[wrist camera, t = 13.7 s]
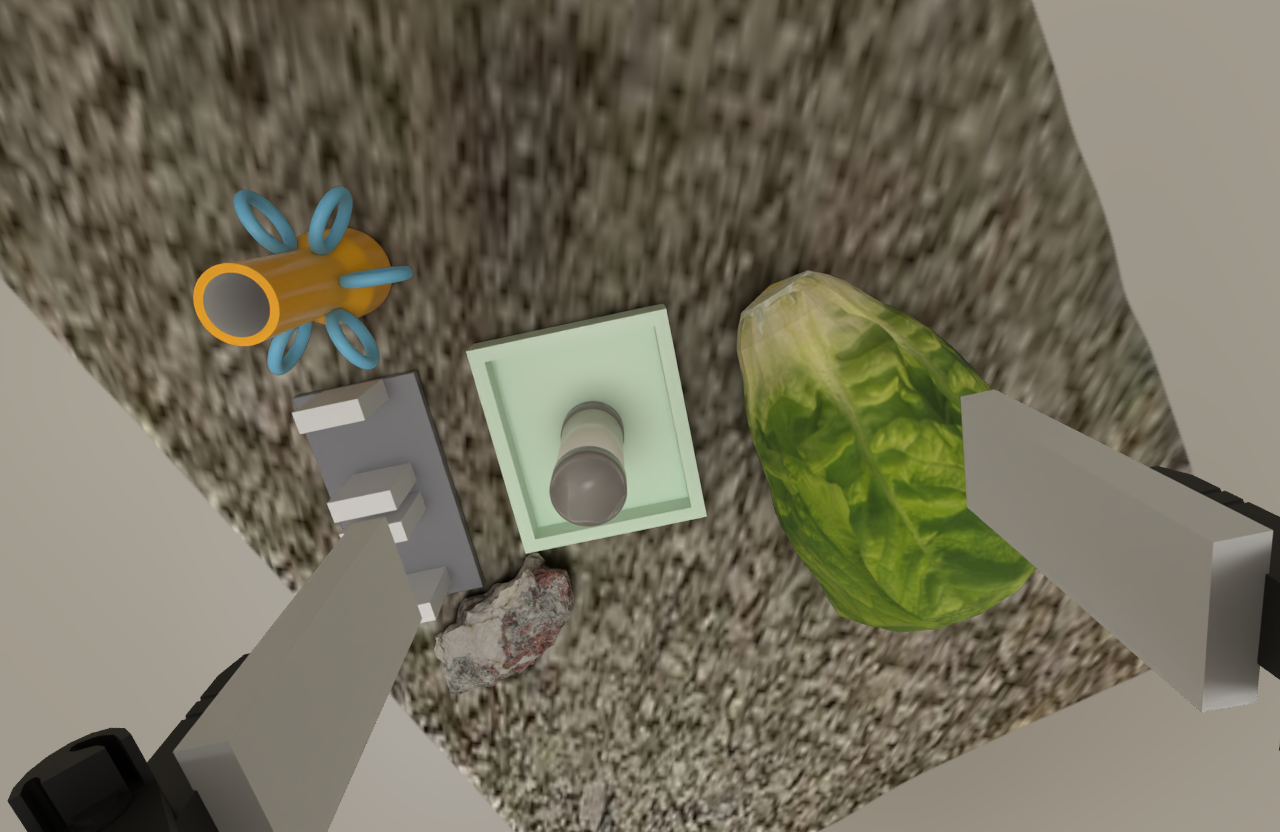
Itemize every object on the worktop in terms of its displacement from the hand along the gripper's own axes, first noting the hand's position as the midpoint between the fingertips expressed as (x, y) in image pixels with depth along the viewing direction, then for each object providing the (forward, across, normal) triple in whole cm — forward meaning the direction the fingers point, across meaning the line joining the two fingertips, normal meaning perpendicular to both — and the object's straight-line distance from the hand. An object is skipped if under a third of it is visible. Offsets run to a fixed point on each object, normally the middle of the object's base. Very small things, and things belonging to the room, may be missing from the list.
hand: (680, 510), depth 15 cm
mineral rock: (+35, -16, -24) cm, 45 cm away
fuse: (+34, -5, -9) cm, 36 cm away
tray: (+35, -5, -9) cm, 36 cm away
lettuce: (+35, +13, -11) cm, 39 cm away
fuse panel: (+35, -21, -11) cm, 42 cm away
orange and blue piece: (+35, -19, +6) cm, 40 cm away
